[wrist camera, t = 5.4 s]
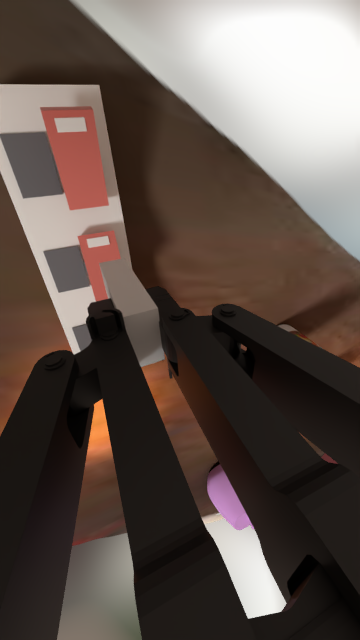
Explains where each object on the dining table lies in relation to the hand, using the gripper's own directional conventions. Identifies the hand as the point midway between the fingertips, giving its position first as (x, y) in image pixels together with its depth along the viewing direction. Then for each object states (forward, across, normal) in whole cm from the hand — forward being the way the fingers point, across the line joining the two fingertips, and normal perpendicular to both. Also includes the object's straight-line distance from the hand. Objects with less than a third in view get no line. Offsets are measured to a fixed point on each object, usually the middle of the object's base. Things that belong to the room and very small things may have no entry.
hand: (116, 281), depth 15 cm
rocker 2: (+10, 0, -3) cm, 11 cm away
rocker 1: (+10, 0, +6) cm, 12 cm away
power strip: (+16, -1, -6) cm, 17 cm away
